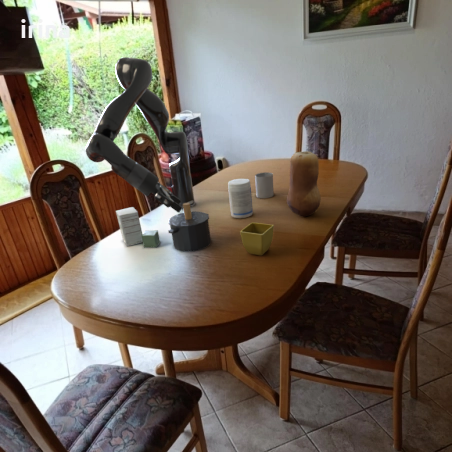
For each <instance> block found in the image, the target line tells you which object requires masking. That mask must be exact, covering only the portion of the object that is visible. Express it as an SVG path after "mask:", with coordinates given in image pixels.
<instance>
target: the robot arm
mask: <svg viewBox="0 0 452 452" xmlns="http://www.w3.org/2000/svg"><path fill="white" fill-rule="evenodd" d="M115 75H116V78H117V80H118V82H119V84H120V86H121V87H122V88H123V90H124V91H123V92H122V93H121V94H119V95H118V96H117V97H115V98H114V99H113V100H112V101H110V103H109V104H107V105H106V107H105V109H104V110H103V112H102V114H101V116H100V118H99V120H98V123H97V125H96V128H95V129H94V132H93V134H92V135H91V137H90V138H89V140H88V142H87V144H86V146H85V155H86V156H87V158H88V159H89V160H90V161H91V162H93V163H102V162H104V161H106V162H107V163H108V164H109V165H110V168H111V171H112V172H113V173H114V174H116V175H117V176H119V177H120V178H122V179H123V180H124V181H125V182H127V183H128V184H129V185H130V186H132V187H133V188H135V189H136V190H138V191H139V192H140V193H141V194H143V195H144V196H146V197H148V196H150V195H151V194H152V195H154V196H153V198H154V199H155V200H157V201H158V202H159V203H161V204H162V205H163V206H165V207H166V208H168V209H169V208H171V209H173V210H174V211H175V212H176V213H181V211H182V210H183V204H184V203H190V207H191V208H192V207H194V206H195V205H196V202H195V195H194V188H193V187H194V186H193V182H192V173H191V167H190V157H189V147H188V139H187V135H186V133H185V132H184V131H167V127H168V125H169V121H170V114H169V111H168V109H167V107H166V105H165V103H164V102H163V100H162V99H161V98H160V96H158V95H157V94H155V93H154V92H153V91H152V90H150V89H149V87H150V85H151V82H152V79H153V70H152V66H151V64H150V63H149V62H148V61H147V60H146V59H142V58H136V57H128V56H126V57H121V58H119V59H118V60H117V61H116V63H115ZM135 106H137V108H138V109H139V110H140V112H141V113H142V114H141V115H142V116H143V117H144V119H145V120H146V122H147V123H148V125H149V126H150V128H151V129H152V131H153V133H154V134H155V136H156V138H157V140H158V142H159V143H160V146H161V148H162V151H163V152H164V153H165V154H166V155H179V158H178V159H176V160H174V161H172V162H170V163H169V164H168V165H169V166H168V168H169V173H170V179H171V185H172V186H171V190H170V189H169V188H167V187H166V186H164V185H163V184H162V183H160V182H159V179H160V178H159V177H158V176H157V175H155V173H153V172H151V171H150V170H149V169H147V168H146V167H144V166H143V165H141V164H139V163H138V162H137V161H135V160H134V159H132V157H130V156H128V155H126V154H125V152H124V151H123V150H122V149H121V148H120V147H119V146H118V145H117V143H115V142H114V141H115V140H116V138H117V137H118V135H119V133H120V132H121V130H122V127H123V126H124V124H125V121H126V119H127V118H128V116H129V114H130V113H131V111H132V110H133V108H134V107H135Z"/></svg>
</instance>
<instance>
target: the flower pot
mask: <svg viewBox="0 0 452 452" xmlns="http://www.w3.org/2000/svg"><path fill="white" fill-rule="evenodd" d="M274 227H275V225H274V224H269V223H261V222H253V221H252V222H250V223H249V224H247V225H246V226H245V227H244V228H242V229H241V230H240V231H239V234H240V239H241V243H242V245H243V247H244V249H245V251H246V252H247V254H250V255H257V256H263V255H264V254H265V253H266V252H268V250H269V249H270V248H271V245H272V243H273V238H274V229H275V228H274Z"/></svg>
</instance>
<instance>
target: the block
mask: <svg viewBox="0 0 452 452" xmlns="http://www.w3.org/2000/svg"><path fill="white" fill-rule="evenodd" d="M142 240H143V242H142V244H143V248H144V249H147V248H148V249H149V248H150V249H151V248H152V249H153V248H157V247H158V246H159V245H160V243H161V239H160V235H159V230H158V229H155V230H153V229H152V230H145V231H144V232H142Z"/></svg>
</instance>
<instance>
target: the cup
mask: <svg viewBox="0 0 452 452" xmlns="http://www.w3.org/2000/svg"><path fill="white" fill-rule="evenodd" d="M254 180H255V195H256V198H258V199H270V198H272V197H274V193H275V191H274V173H272V172H266V171H265V172H257V173H256V174H255V175H254Z"/></svg>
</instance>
